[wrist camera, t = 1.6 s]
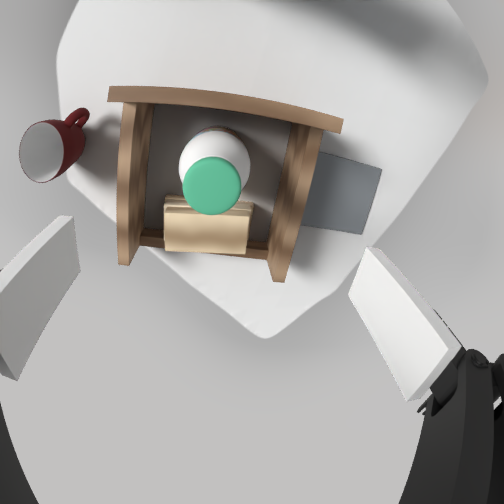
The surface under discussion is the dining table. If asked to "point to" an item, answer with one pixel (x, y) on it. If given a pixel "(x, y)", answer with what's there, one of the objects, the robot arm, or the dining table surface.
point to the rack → (303, 120)
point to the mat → (340, 194)
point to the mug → (52, 146)
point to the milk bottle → (214, 170)
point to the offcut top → (205, 231)
